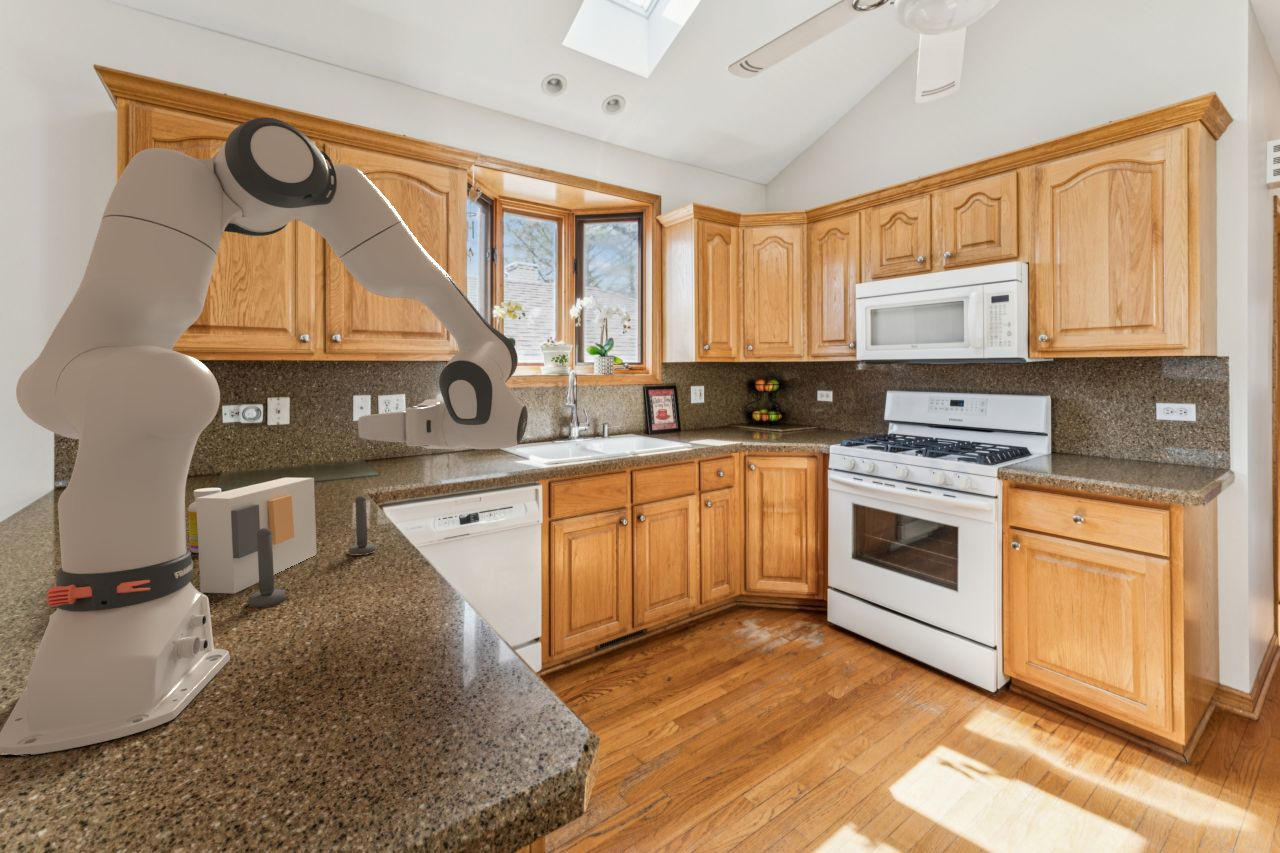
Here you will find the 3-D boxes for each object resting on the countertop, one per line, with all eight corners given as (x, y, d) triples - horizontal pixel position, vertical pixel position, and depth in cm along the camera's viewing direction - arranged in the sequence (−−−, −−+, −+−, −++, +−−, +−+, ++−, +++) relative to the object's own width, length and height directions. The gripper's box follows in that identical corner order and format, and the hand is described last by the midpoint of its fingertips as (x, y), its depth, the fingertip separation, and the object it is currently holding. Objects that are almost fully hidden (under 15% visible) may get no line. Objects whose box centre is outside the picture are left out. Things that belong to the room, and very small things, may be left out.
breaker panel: (316, 555, 120) (313, 477, 119) (234, 593, 98) (230, 498, 97) (288, 554, 120) (285, 477, 119) (200, 592, 98) (195, 497, 97)
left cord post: (283, 604, 93) (280, 529, 92) (246, 609, 91) (242, 533, 90) (287, 594, 98) (284, 523, 97) (251, 599, 95) (248, 526, 95)
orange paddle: (294, 537, 111) (291, 495, 110) (276, 544, 106) (272, 500, 105) (289, 537, 111) (286, 495, 110) (270, 544, 106) (267, 500, 105)
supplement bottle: (214, 554, 120) (211, 492, 120) (182, 554, 121) (178, 492, 120) (236, 545, 127) (234, 486, 126) (206, 545, 127) (203, 486, 126)
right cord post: (375, 554, 121) (374, 496, 120) (348, 557, 119) (346, 498, 118) (375, 548, 125) (373, 492, 125) (349, 550, 123) (347, 494, 122)
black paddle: (260, 549, 102) (258, 504, 102) (239, 558, 97) (236, 510, 97) (255, 549, 102) (253, 504, 102) (233, 558, 97) (231, 510, 97)
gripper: (458, 404, 115) (390, 404, 116) (410, 408, 94) (327, 407, 95) (459, 436, 115) (391, 436, 116) (411, 447, 95) (329, 446, 96)
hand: (362, 423), depth 106 cm, fingers closed
